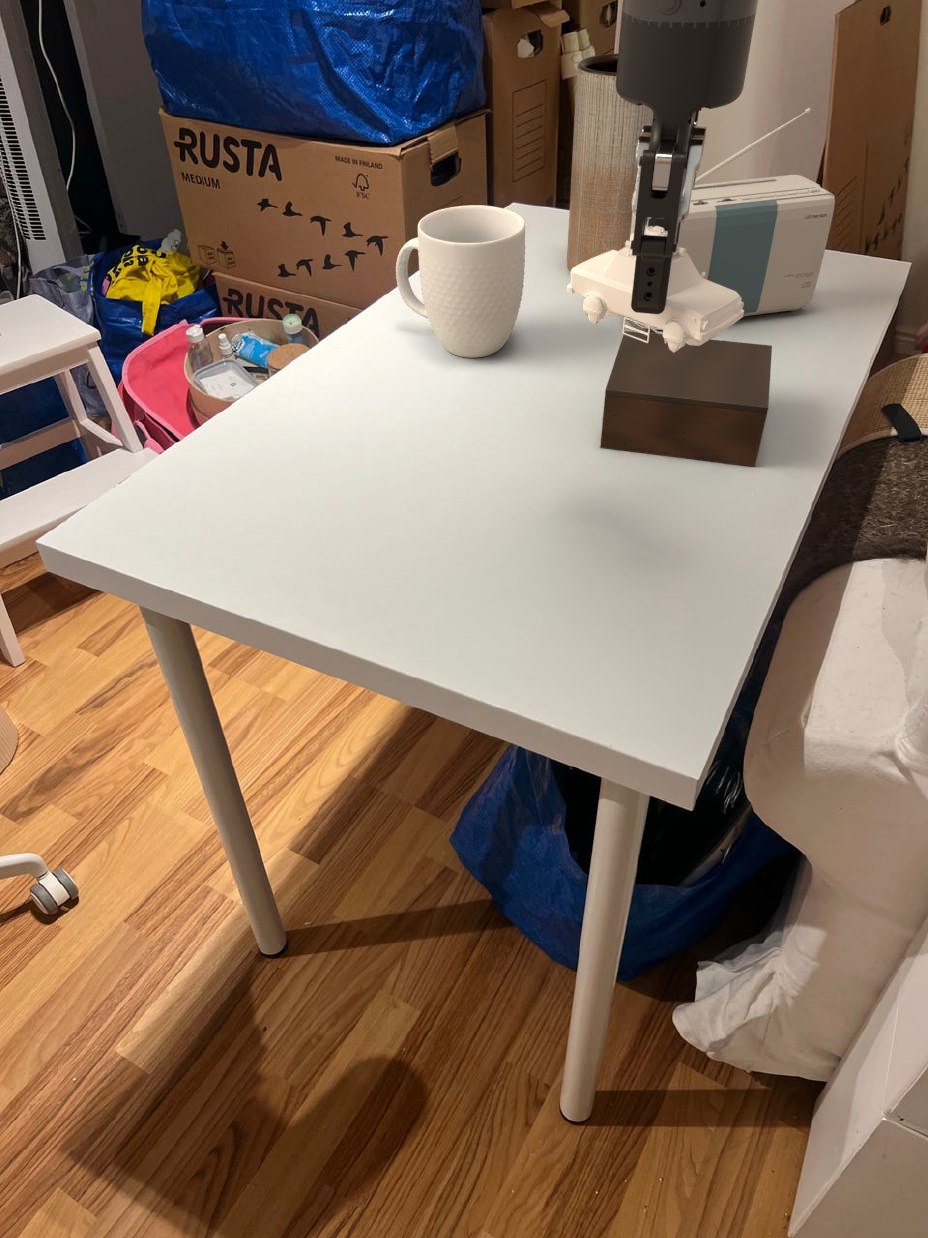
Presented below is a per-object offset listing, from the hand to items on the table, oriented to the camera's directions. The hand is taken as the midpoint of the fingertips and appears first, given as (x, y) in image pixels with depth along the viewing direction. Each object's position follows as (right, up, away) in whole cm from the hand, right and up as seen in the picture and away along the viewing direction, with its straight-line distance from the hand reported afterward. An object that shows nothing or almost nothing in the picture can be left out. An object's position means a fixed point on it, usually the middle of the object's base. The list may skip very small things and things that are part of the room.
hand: (653, 286), depth 63 cm
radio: (+16, +13, +43) cm, 48 cm away
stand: (+8, -4, +25) cm, 26 cm away
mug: (-13, +8, +39) cm, 42 cm away
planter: (+5, +22, +53) cm, 58 cm away
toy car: (0, -2, +2) cm, 3 cm away
